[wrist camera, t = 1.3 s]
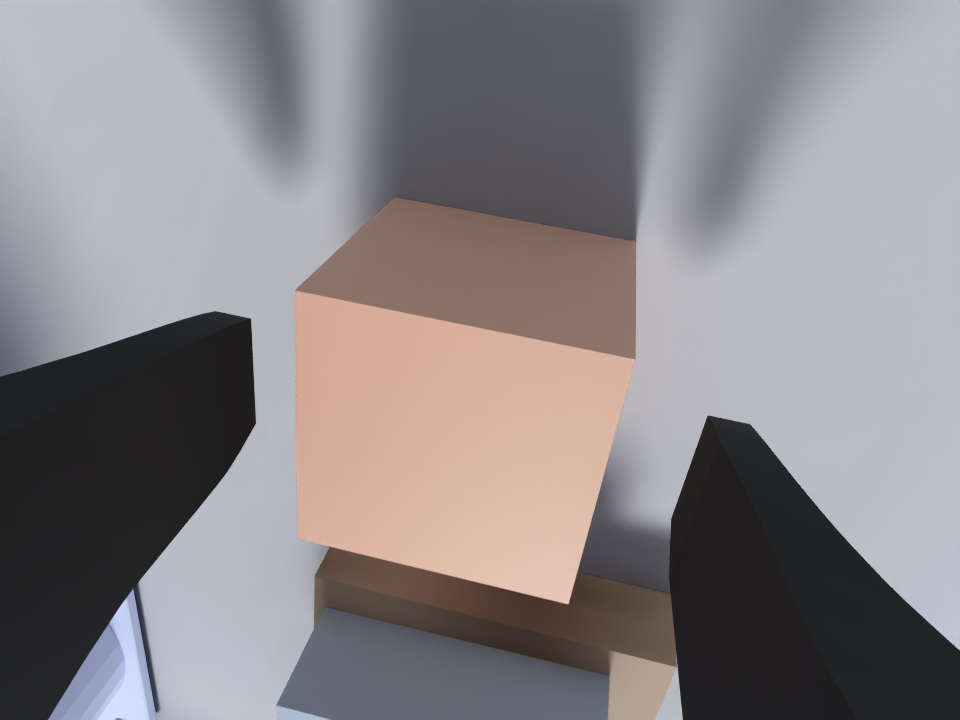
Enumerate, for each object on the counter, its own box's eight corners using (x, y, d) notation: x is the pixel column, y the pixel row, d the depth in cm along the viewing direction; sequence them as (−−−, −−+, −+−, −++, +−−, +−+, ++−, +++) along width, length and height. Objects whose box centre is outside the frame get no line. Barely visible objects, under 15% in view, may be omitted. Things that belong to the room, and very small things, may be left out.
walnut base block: (345, 696, 22) (312, 776, 20) (354, 502, 18) (314, 575, 16) (601, 765, 21) (596, 857, 19) (672, 578, 17) (676, 667, 15)
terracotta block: (383, 395, 15) (297, 538, 12) (395, 196, 13) (294, 290, 9) (586, 439, 15) (568, 604, 11) (636, 240, 13) (635, 359, 9)
